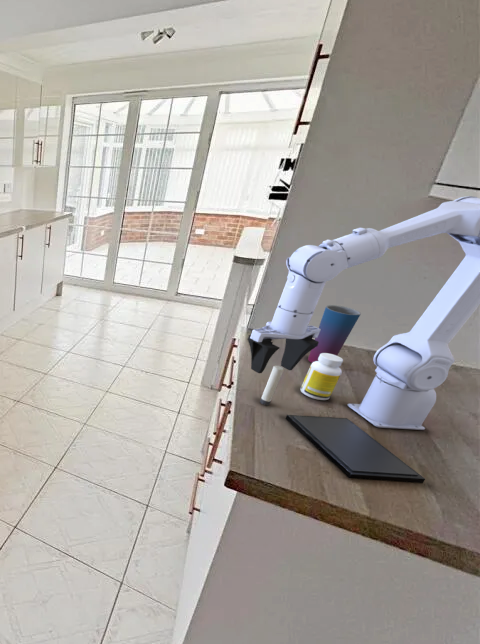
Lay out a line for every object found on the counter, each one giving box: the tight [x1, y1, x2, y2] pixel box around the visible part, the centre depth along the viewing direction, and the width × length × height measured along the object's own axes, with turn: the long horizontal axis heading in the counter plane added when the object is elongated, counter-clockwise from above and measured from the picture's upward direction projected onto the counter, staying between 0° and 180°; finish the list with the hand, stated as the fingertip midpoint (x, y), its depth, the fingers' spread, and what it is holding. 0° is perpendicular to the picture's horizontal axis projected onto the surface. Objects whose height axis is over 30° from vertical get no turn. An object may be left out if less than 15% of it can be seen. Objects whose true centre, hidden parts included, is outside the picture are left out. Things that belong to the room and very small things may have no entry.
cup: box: [307, 304, 362, 364], centre depth 106 cm, size 7×7×15 cm
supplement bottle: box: [300, 353, 344, 401], centre depth 92 cm, size 5×5×10 cm
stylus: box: [259, 365, 285, 406], centre depth 88 cm, size 2×2×9 cm
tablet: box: [285, 414, 426, 484], centre depth 77 cm, size 12×17×1 cm
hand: (271, 369), depth 85 cm, fingers open, 7 cm apart
